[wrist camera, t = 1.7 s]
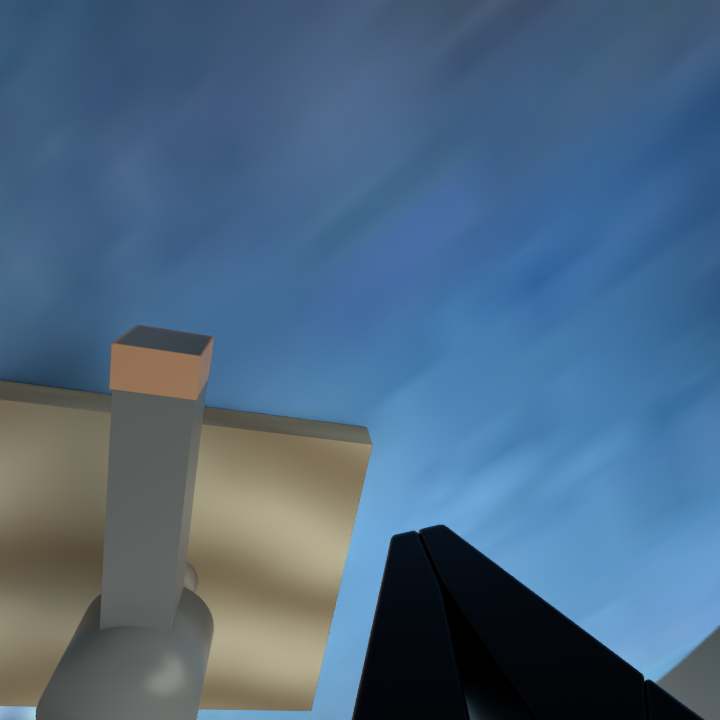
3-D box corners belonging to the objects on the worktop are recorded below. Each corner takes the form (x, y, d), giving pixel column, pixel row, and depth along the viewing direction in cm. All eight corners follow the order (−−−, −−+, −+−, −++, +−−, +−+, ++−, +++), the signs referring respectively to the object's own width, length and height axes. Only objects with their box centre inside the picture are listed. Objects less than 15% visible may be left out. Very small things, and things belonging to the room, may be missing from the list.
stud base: (310, 680, 23) (312, 758, 20) (-3, 671, 21) (-59, 759, 17) (367, 427, 19) (381, 472, 16) (-11, 379, 17) (-86, 420, 13)
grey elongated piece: (206, 678, 17) (189, 769, 15) (80, 674, 17) (35, 770, 14) (254, 342, 14) (243, 377, 11) (93, 317, 13) (37, 348, 10)
